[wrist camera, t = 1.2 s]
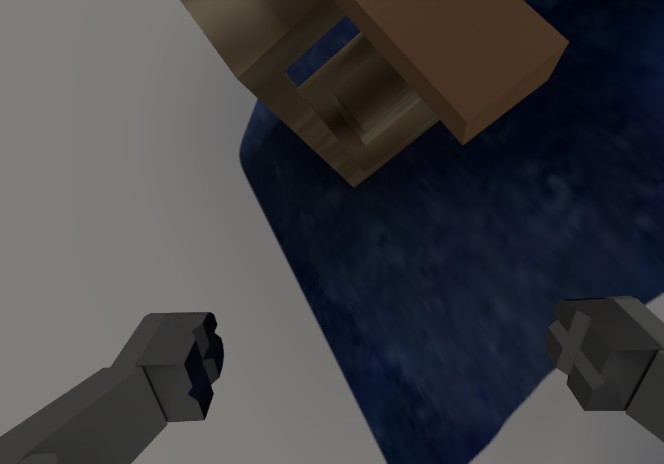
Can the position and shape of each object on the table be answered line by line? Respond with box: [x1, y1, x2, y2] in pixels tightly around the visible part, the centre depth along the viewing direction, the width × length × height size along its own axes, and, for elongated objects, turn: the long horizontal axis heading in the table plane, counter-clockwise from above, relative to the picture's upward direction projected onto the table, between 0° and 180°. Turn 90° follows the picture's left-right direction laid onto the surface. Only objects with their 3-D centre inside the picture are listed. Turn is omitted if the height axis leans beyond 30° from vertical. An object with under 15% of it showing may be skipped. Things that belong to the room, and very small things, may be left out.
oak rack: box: [180, 0, 440, 188], centre depth 31 cm, size 14×16×26 cm
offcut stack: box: [330, 52, 422, 145], centre depth 39 cm, size 6×8×4 cm
